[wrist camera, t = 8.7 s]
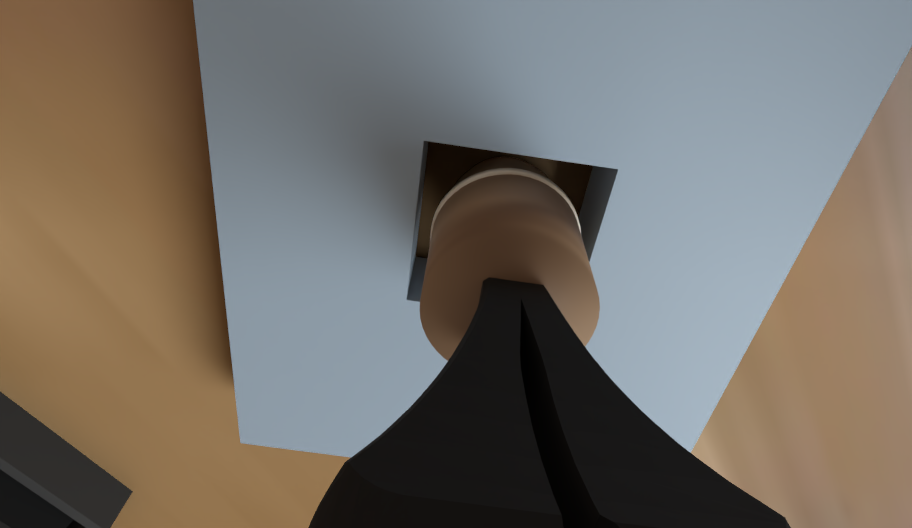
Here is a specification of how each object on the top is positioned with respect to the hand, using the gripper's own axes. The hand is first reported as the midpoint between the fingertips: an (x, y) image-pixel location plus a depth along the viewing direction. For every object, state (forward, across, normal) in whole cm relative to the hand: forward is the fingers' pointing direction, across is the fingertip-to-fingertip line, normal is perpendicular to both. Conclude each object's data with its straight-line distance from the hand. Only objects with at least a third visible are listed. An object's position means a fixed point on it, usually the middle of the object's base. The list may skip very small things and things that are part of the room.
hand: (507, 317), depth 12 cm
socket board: (+6, 0, 0) cm, 6 cm away
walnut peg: (+6, 0, 0) cm, 6 cm away
